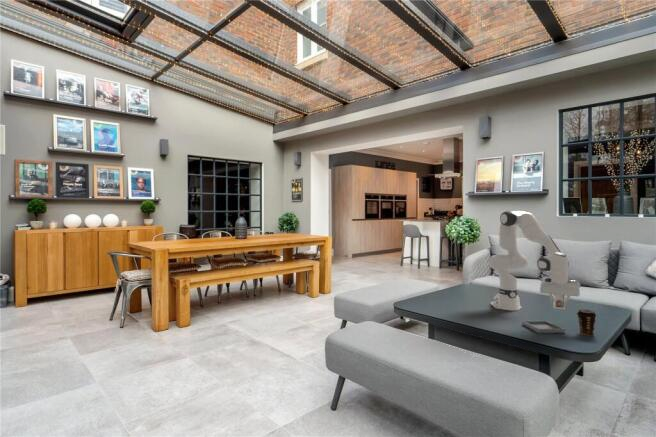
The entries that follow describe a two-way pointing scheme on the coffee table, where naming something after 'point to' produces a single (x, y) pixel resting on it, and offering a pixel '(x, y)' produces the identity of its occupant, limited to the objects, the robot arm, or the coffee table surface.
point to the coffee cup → (586, 321)
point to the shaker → (561, 299)
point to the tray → (543, 327)
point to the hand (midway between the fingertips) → (559, 302)
